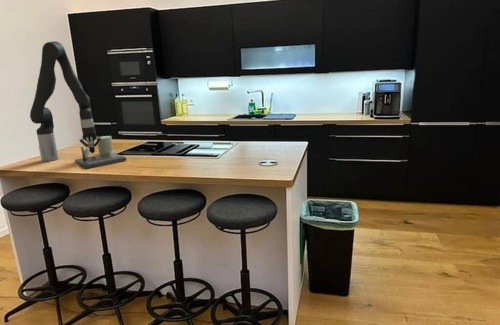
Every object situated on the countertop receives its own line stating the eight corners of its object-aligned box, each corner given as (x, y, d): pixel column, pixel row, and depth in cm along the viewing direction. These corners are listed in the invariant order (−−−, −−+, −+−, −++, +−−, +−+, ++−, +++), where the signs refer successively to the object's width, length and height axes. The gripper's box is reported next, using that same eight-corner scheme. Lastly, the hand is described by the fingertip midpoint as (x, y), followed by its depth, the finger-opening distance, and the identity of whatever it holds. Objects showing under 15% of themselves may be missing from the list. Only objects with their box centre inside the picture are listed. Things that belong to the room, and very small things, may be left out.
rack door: (86, 158, 217) (84, 151, 216) (82, 159, 217) (81, 152, 216) (89, 153, 230) (88, 147, 228) (86, 154, 229) (85, 147, 228)
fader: (112, 159, 215) (111, 152, 214) (110, 157, 218) (109, 151, 217) (117, 158, 217) (116, 151, 216) (115, 157, 220) (114, 150, 219)
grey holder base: (86, 169, 203) (83, 152, 201) (75, 162, 218) (72, 147, 215) (126, 160, 218) (124, 144, 216) (114, 155, 233) (111, 140, 230)
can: (107, 151, 244) (105, 134, 241) (116, 153, 239) (114, 135, 236) (96, 155, 236) (93, 137, 233) (105, 156, 232) (102, 138, 228)
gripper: (75, 128, 217) (80, 155, 222) (97, 126, 220) (102, 153, 224) (78, 126, 224) (83, 152, 229) (100, 124, 227) (104, 150, 231)
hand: (92, 152), depth 227 cm, fingers closed
